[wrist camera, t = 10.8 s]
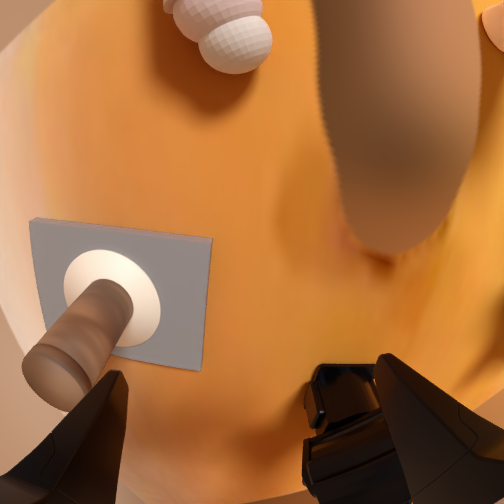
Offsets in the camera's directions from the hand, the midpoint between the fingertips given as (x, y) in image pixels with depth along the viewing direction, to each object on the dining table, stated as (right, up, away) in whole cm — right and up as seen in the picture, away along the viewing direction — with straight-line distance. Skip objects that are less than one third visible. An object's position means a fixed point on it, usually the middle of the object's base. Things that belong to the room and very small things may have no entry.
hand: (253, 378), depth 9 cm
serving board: (-12, +1, +14) cm, 18 cm away
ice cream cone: (-3, +22, +7) cm, 23 cm away
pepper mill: (-12, 0, +13) cm, 17 cm away
